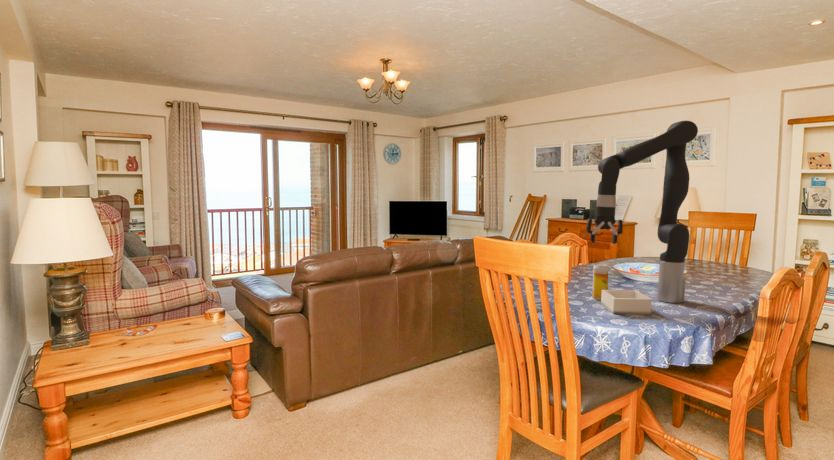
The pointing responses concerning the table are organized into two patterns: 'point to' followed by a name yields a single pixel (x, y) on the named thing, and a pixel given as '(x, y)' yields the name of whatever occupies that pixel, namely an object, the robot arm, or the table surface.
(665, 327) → the table surface
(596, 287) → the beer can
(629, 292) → the box
